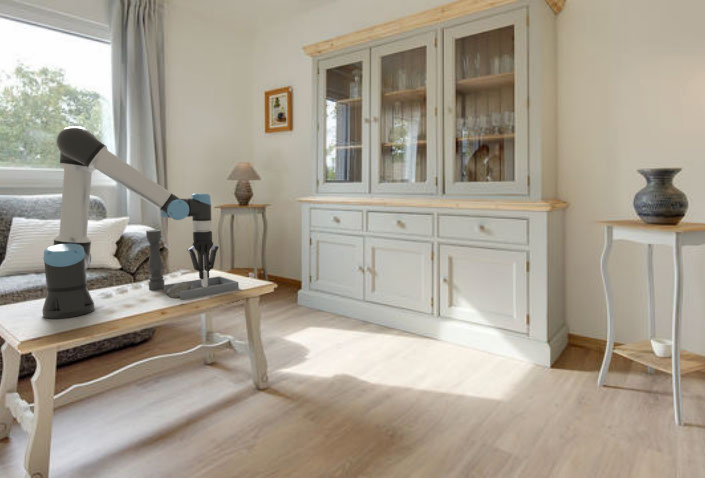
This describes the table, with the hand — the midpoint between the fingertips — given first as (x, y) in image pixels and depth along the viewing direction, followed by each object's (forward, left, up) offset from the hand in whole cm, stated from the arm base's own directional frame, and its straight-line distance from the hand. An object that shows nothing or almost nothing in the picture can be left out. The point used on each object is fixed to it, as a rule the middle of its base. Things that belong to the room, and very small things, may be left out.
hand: (204, 286), depth 182 cm
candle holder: (-14, +17, -2) cm, 22 cm away
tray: (-1, 0, -2) cm, 2 cm away
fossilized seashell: (-10, -2, -2) cm, 10 cm away
